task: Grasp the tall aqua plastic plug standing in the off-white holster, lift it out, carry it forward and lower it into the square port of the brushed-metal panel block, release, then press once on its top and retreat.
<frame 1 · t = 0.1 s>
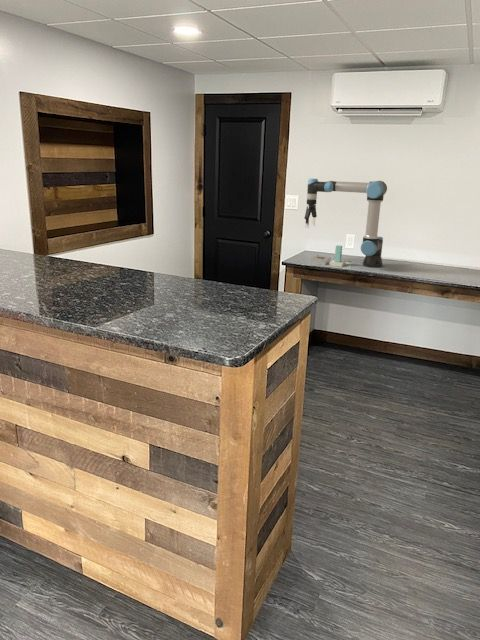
hand: (310, 226, 400), 28 cm above the countertop, fingers open, 13 cm apart
port panel: (320, 262, 403), on the countertop
holster: (337, 264, 397), on the countertop
plug: (338, 255, 394), in the holster
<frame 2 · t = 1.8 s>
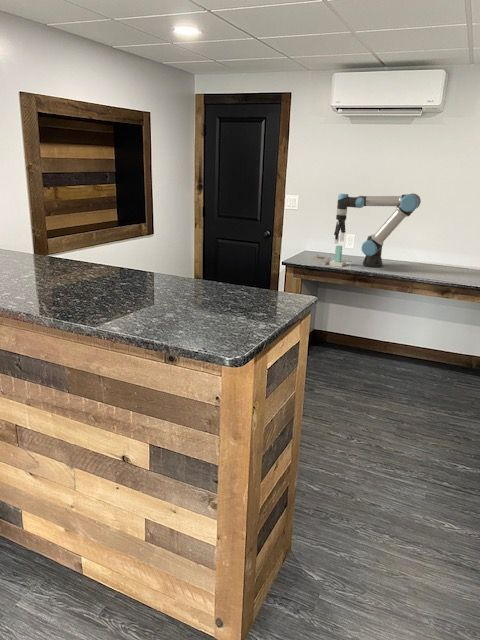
hand: (339, 242, 391), 18 cm above the countertop, fingers open, 13 cm apart
nothing on the countertop moved.
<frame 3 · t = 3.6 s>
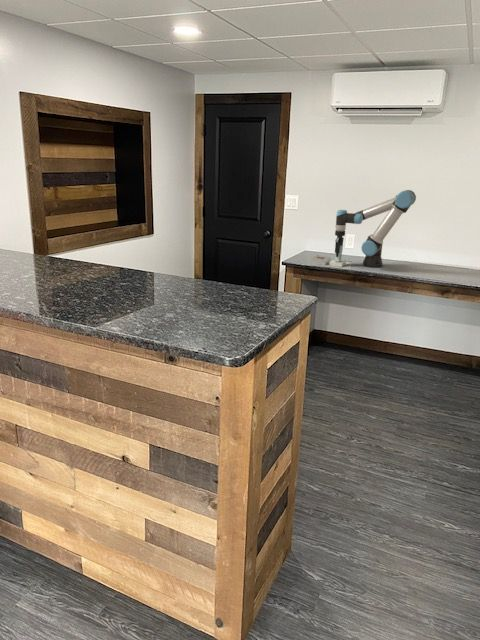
hand: (337, 260, 396), 4 cm above the countertop, fingers closed on plug, 4 cm apart
plug: (338, 255, 394), in the holster, touching gripper
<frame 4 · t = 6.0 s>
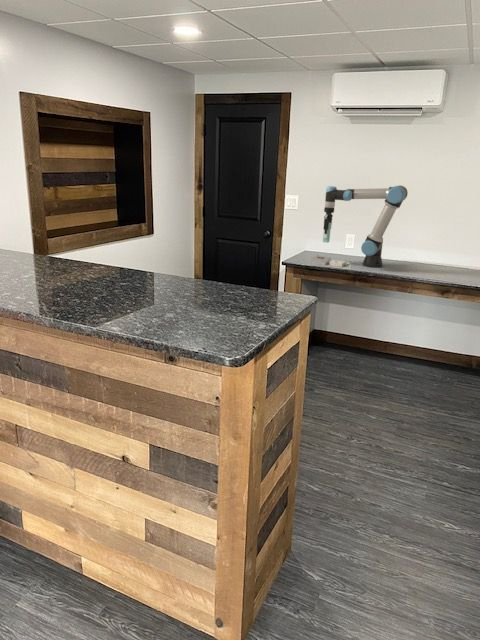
hand: (326, 237, 395), 21 cm above the countertop, fingers closed on plug, 4 cm apart
plug: (326, 232, 394), point 24 cm above the countertop, touching gripper
when the fingers open (6 cm above the countertop, at t = 8.5 s): plug drops 2 cm, resting in port panel.
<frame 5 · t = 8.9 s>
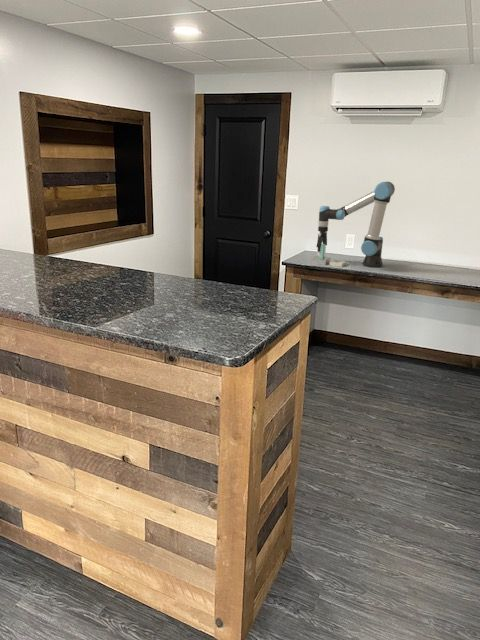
hand: (321, 254, 401), 7 cm above the countertop, fingers open, 10 cm apart
plug: (321, 253, 401), resting in port panel
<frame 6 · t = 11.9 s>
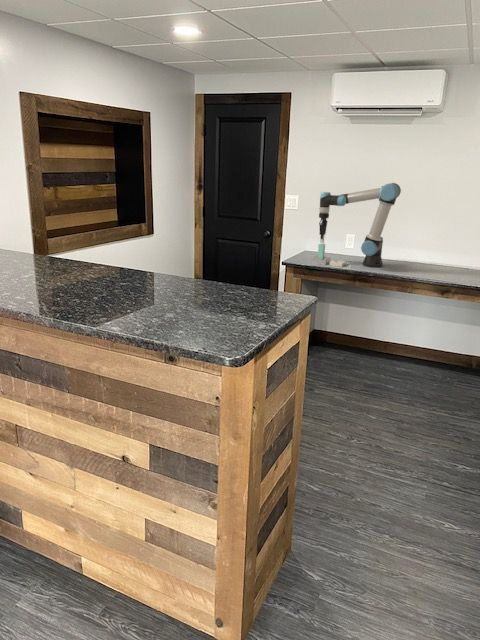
hand: (321, 242, 398), 16 cm above the countertop, fingers closed
nothing on the countertop moved.
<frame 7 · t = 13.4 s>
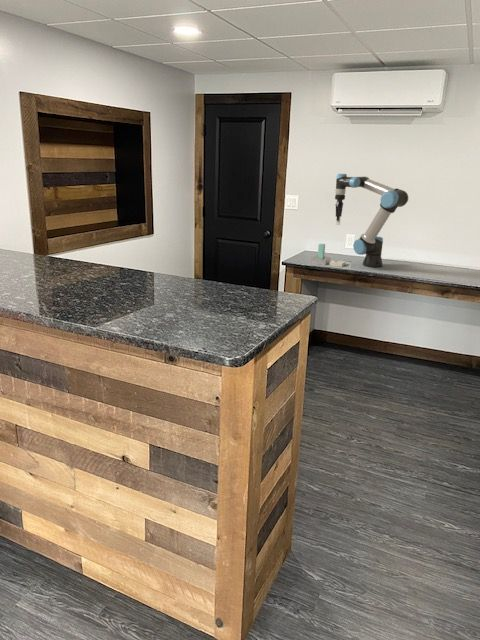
hand: (337, 224, 400), 29 cm above the countertop, fingers closed
nothing on the countertop moved.
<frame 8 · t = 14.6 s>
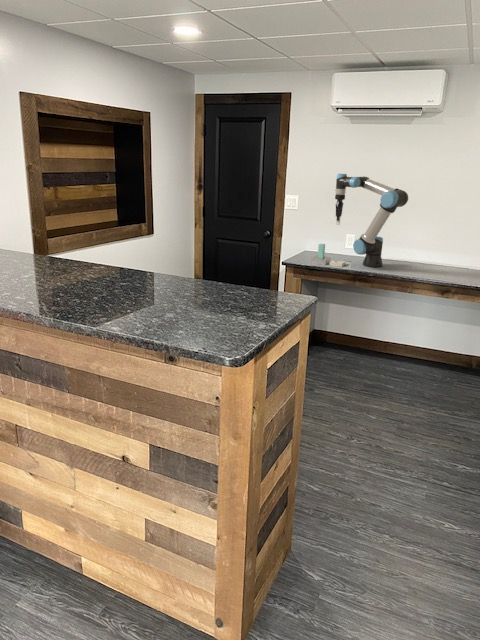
hand: (337, 224, 400), 29 cm above the countertop, fingers closed
nothing on the countertop moved.
at the end: plug 0.0 cm off-centre on the port panel, point 7.5 cm above the port panel's base; plug tilted 0°; the gripper is holding nothing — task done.
